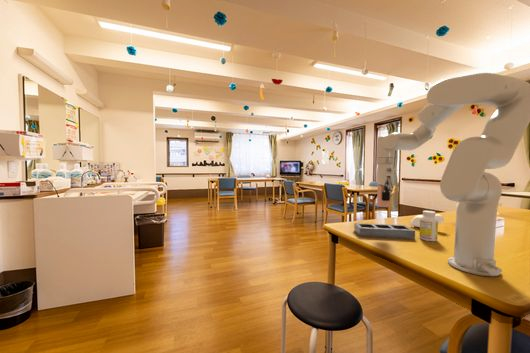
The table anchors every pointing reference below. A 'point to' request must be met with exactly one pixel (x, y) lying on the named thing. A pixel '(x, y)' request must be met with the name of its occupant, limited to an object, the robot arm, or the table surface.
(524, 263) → the table surface
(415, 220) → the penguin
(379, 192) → the peg
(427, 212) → the supplement bottle
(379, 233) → the grey compartment tray
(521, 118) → the robot arm
